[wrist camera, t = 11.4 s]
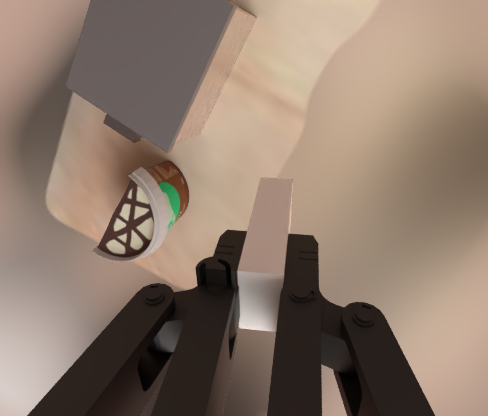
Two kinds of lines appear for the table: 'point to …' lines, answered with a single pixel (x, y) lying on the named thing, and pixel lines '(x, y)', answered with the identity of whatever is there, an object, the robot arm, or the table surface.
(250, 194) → the table surface
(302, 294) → the robot arm
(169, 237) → the table surface
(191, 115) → the rectangular cooking pot
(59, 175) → the table surface
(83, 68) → the pot lid
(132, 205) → the food container
